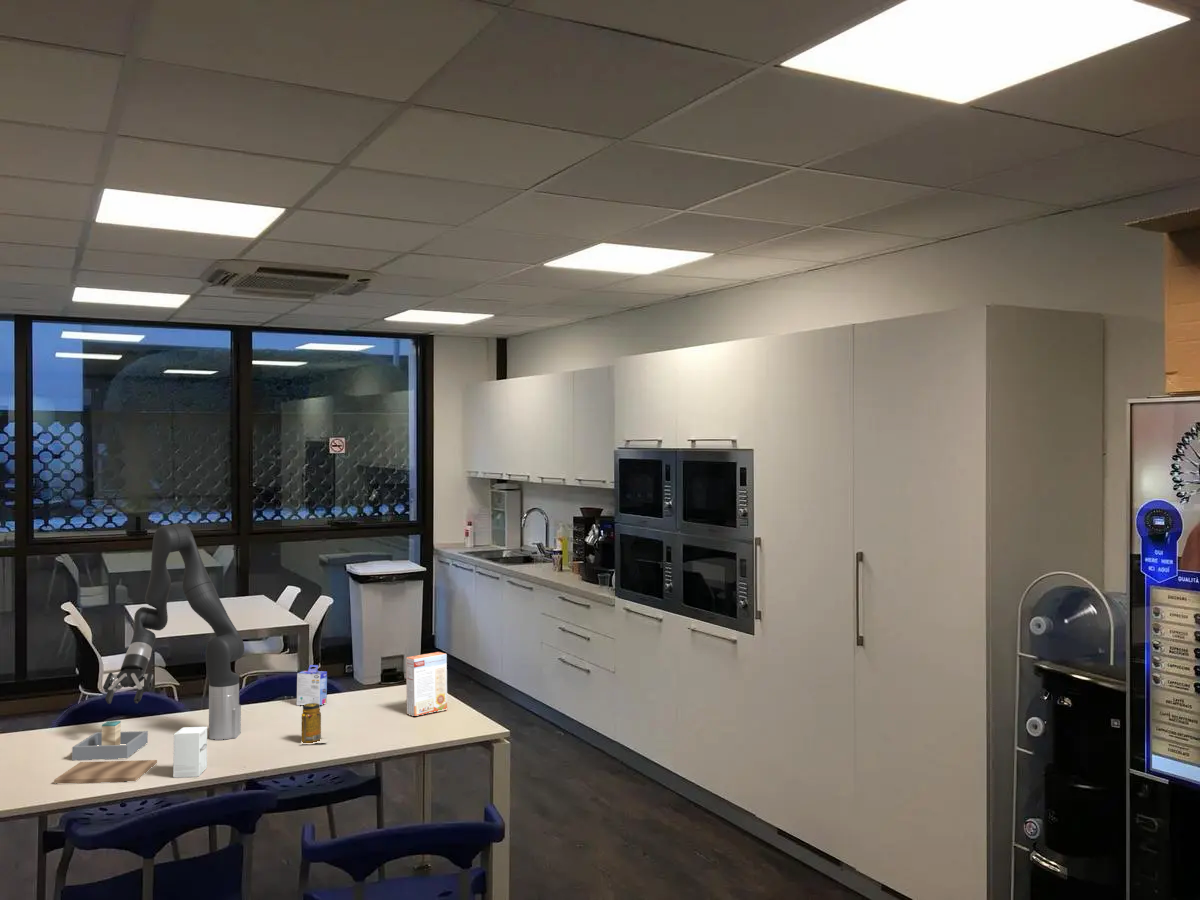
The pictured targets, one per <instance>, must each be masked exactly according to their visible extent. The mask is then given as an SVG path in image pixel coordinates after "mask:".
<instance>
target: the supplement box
mask: <svg viewBox="0 0 1200 900" xmlns="http://www.w3.org/2000/svg"><path fill="white" fill-rule="evenodd" d="M172 764H173V767H172V769H173V771H172V773H173V774H172V777H173V778H199V777H200V776H201V775H202V774H203V773H204V772H205V771H206V770H207V769H206V768H208V767H207V766H208V765H207V764H208V726H190V727H189V726H187V727H181V728H180V729H179V730H177V731H176V732H175V733H174V734H173V763H172ZM205 769H206V770H205ZM204 770H205V771H204ZM203 771H204V772H203ZM202 772H203V773H202Z"/></svg>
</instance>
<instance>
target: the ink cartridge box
mask: <svg viewBox="0 0 1200 900" xmlns="http://www.w3.org/2000/svg"><path fill="white" fill-rule="evenodd" d="M318 669H319V665H318V664H309V666H308V670H301V671H300V672H297V674H296V706H300V705H305V704H309V703H317V704H319V705H322V704H324V703H327V702H328V699H327V696H328V695H327V693H328V692H327V691H328V688H327V686H328V671H323V670H321V671H320V670H318ZM327 704H328V703H327ZM322 706H323V705H322Z"/></svg>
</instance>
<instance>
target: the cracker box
mask: <svg viewBox="0 0 1200 900" xmlns="http://www.w3.org/2000/svg"><path fill="white" fill-rule="evenodd" d="M447 656H448V655H447V653H444V652H441V651H435V652H430V653H423V654H418V655H413V656H406V658H405V673H406V680H405V681H406V714H407V713H408V714H410V715H413V716H417V715H422V714H426V713H429V712H434V711H438V710H442V709H446V708H447V709H448V669H447V668H448V666H447V665H448V663H447V662H448V657H447ZM410 715H409V716H410ZM413 716H412V717H413Z"/></svg>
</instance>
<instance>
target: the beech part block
mask: <svg viewBox="0 0 1200 900" xmlns="http://www.w3.org/2000/svg"><path fill="white" fill-rule="evenodd" d="M121 726H122V725H121V721H120V720H112V721H111V720H110V721H108V720H107V721H106V722H104V723H102V724H101V732H102V745H120V735H121V732H122V731H121Z"/></svg>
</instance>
